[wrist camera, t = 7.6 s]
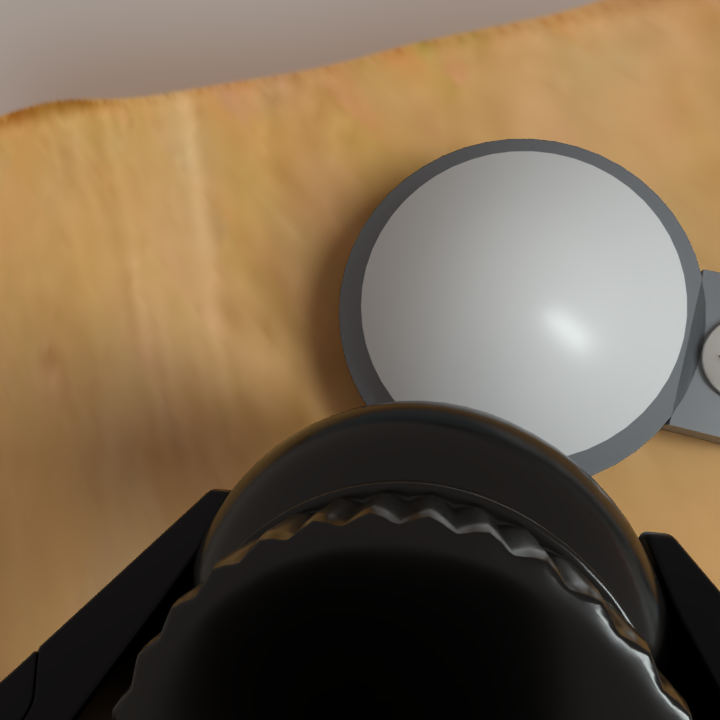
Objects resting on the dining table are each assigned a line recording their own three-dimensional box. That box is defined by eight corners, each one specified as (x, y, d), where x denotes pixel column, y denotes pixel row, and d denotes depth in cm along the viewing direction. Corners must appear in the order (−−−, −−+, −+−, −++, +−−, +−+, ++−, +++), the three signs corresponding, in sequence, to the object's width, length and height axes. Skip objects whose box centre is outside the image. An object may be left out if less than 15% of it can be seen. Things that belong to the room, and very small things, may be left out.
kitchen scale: (723, 546, 21) (778, 571, 17) (315, 432, 24) (293, 433, 20) (793, 216, 22) (858, 176, 18) (393, 144, 24) (384, 98, 21)
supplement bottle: (275, 467, 17) (-124, 549, 5) (487, 375, 16) (618, 218, 4) (363, 700, 15) (119, 1558, 4) (597, 609, 15) (1186, 1271, 3)
